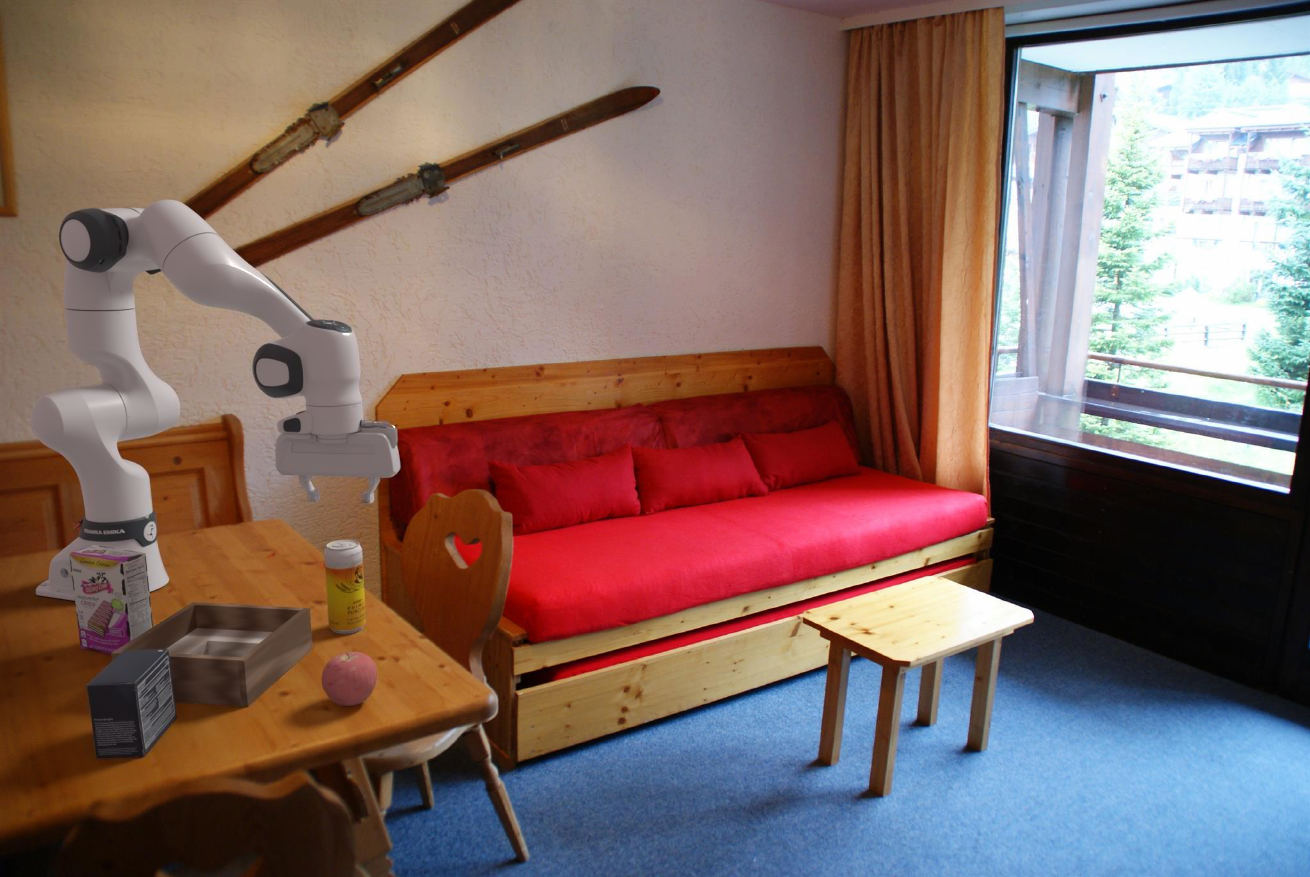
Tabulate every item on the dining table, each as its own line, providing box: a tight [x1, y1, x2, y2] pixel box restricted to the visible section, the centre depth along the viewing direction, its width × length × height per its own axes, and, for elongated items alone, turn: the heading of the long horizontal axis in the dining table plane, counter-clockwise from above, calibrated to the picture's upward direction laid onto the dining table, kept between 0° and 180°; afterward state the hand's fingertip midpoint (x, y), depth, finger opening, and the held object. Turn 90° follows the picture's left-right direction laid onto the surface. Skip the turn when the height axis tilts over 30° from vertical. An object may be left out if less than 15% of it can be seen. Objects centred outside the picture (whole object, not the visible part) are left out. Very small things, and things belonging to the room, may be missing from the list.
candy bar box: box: [69, 545, 154, 655], centre depth 153 cm, size 11×5×16 cm, turn 71°
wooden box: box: [110, 601, 313, 708], centre depth 146 cm, size 20×20×7 cm
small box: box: [86, 649, 178, 760], centre depth 126 cm, size 11×6×10 cm, turn 5°
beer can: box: [323, 539, 367, 635], centre depth 162 cm, size 6×6×15 cm
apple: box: [321, 651, 378, 707], centre depth 136 cm, size 7×7×8 cm
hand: (340, 501), depth 159 cm, fingers open, 8 cm apart
